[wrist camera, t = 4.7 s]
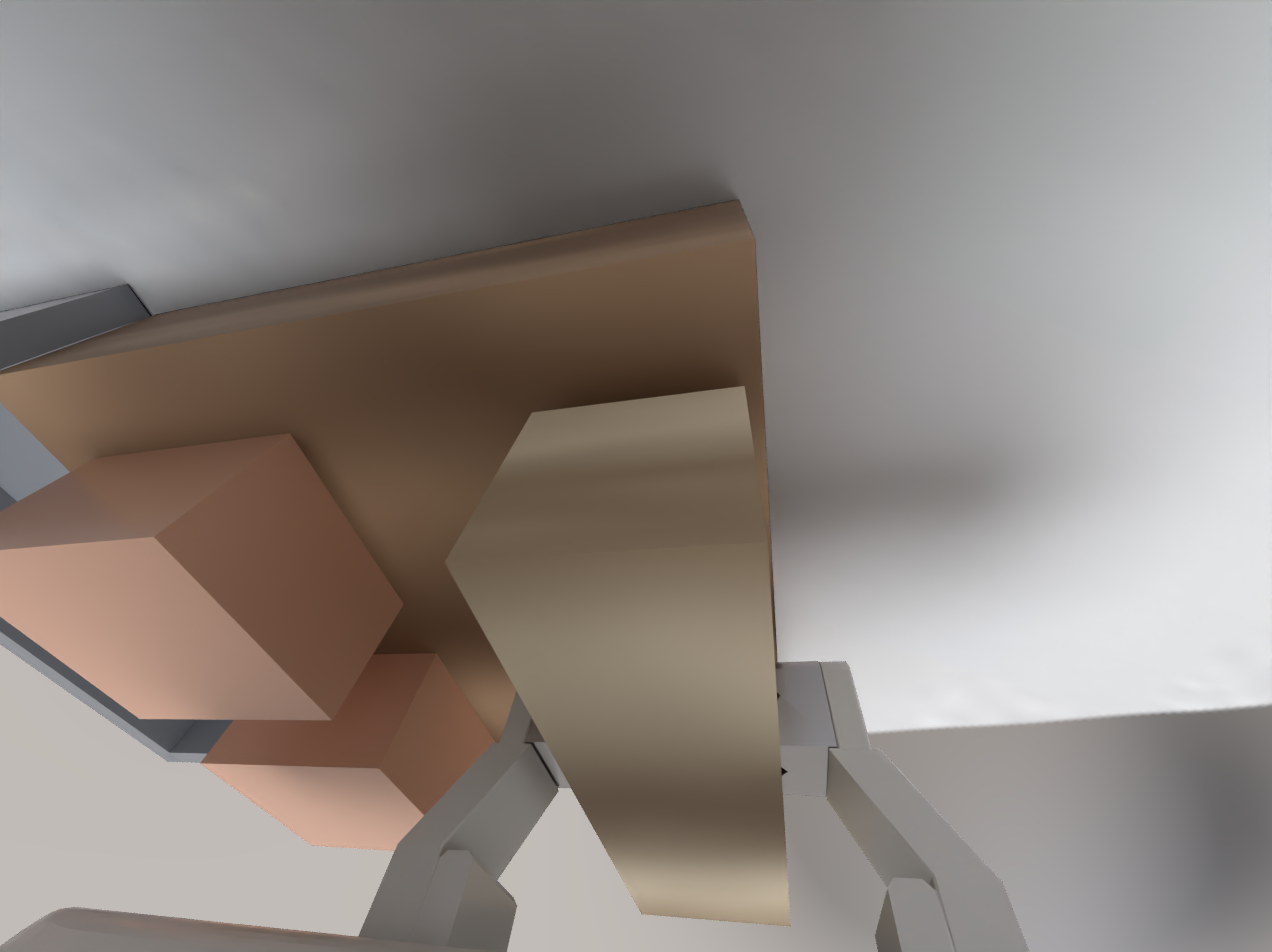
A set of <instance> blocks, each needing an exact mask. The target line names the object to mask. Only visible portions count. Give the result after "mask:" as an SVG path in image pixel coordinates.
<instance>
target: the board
mask: <svg viewBox="0 0 1272 952" xmlns="http://www.w3.org/2000/svg"><path fill="white" fill-rule="evenodd" d="M739 386H745V392H746V399H747V406H748V412H749V419H750V426H751V432H752V439H753V446H754V453H755V459H756V466H757V473H758V479H759V486H760V493H761V500H762V506H763V513H764V520H765V526H766V533H767V540H768V554H769V571H770V588H771V605H772V621H773V638H774V655H775V663H777V645H776V626H775V607H774V588H773V569H772V550H771V532H770V513H769V494H768V475H767V456H766V438H765V419H764V400H763V381H762V362H761V343H760V325H759V306H758V287H757V268H756V249H755V237H754V235H753V232H752V230H751V227H750V225H749V223H748V220H747V218H746V215H745V213H744V210H743V208H742V206H741V203H740V201H739V200H734V201H728V202H723V203H718V204H713V205H708V206H703V207H698V208H693V209H688V210H683V211H678V212H673V213H668V214H663V215H657V216H652V217H647V218H642V219H637V220H632V221H627V222H622V223H617V224H612V225H607V226H602V227H597V228H592V229H586V230H581V231H576V232H571V233H566V234H561V235H556V236H551V237H546V238H541V239H536V240H531V241H526V242H521V243H516V244H510V245H505V246H500V247H495V248H490V249H485V250H480V251H475V252H470V253H465V254H460V255H455V256H450V257H445V258H439V259H434V260H429V261H424V262H419V263H414V264H409V265H404V266H399V267H394V268H389V269H384V270H379V271H374V272H369V273H363V274H358V275H353V276H348V277H343V278H338V279H333V280H328V281H323V282H318V283H313V284H308V285H303V286H298V287H292V288H287V289H282V290H277V291H272V292H267V293H262V294H257V295H252V296H247V297H242V298H237V299H232V300H227V301H222V302H216V303H211V304H206V305H201V306H196V307H191V308H186V309H181V310H176V311H171V312H166V313H161V314H156V315H153V316H150V317H148V318H145V319H142V320H139V321H136V322H134V323H131V324H128V325H125V326H123V327H120V328H117V329H114V330H111V331H109V332H106V333H103V334H100V335H98V336H95V337H92V338H89V339H86V340H84V341H81V342H78V343H75V344H73V345H70V346H67V347H64V348H61V349H59V350H56V351H53V352H50V353H48V354H45V355H42V356H39V357H36V358H34V359H31V360H28V361H25V362H23V363H20V364H17V365H14V366H11V367H9V368H6V369H3V370H0V402H1V403H2V404H3V406H4V407H5V408H6V409H7V410H8V411H9V412H10V413H11V414H12V415H13V416H14V417H15V418H16V419H17V420H18V421H19V422H20V423H21V424H22V425H23V426H24V427H25V428H26V429H27V430H28V431H29V432H30V433H31V434H32V435H33V436H34V437H35V438H36V439H37V440H38V441H39V442H40V443H41V444H42V445H43V446H44V447H45V448H46V449H47V450H48V451H49V452H50V453H51V454H52V455H53V456H54V457H55V458H56V459H57V460H58V461H59V462H60V463H61V464H62V465H63V466H64V467H65V468H66V469H67V470H68V471H69V472H71V471H73V470H75V469H77V468H79V467H80V466H82V465H84V464H86V463H88V462H89V461H91V460H93V459H95V458H100V457H108V456H116V455H124V454H131V453H139V452H147V451H155V450H163V449H170V448H178V447H186V446H194V445H201V444H209V443H217V442H225V441H233V440H240V439H248V438H256V437H264V436H271V435H279V434H287V433H290V434H291V435H292V437H293V438H294V440H295V441H296V443H297V444H298V446H299V447H300V449H301V450H302V452H303V453H304V455H305V456H306V458H307V459H308V461H309V462H310V464H311V465H312V467H313V468H314V470H315V471H316V473H317V474H318V476H319V477H320V479H321V481H322V482H323V484H324V485H325V487H326V488H327V490H328V491H329V493H330V494H331V496H332V497H333V499H334V500H335V502H336V503H337V505H338V506H339V508H340V509H341V511H342V512H343V514H344V515H345V517H346V518H347V520H348V521H349V523H350V524H351V526H352V527H353V529H354V530H355V532H356V533H357V535H358V536H359V538H360V539H361V541H362V542H363V544H364V545H365V547H366V548H367V550H368V551H369V553H370V554H371V556H372V557H373V559H374V560H375V562H376V563H377V565H378V566H379V568H380V569H381V571H382V572H383V574H384V575H385V577H386V578H387V580H388V581H389V583H390V584H391V586H392V587H393V589H394V590H395V592H396V593H397V595H398V596H399V598H400V599H401V601H402V602H403V604H404V605H403V606H402V608H401V609H400V611H399V613H398V614H397V616H396V618H395V619H394V621H393V622H392V624H391V626H390V627H389V629H388V631H387V632H386V634H385V635H384V637H383V639H382V640H381V642H380V643H379V645H378V647H377V648H376V650H375V652H374V653H373V655H377V654H420V653H437V655H438V656H439V658H440V659H441V661H442V662H443V664H444V665H445V667H446V668H447V670H448V671H449V673H450V674H451V676H452V677H453V679H454V680H455V682H456V683H457V685H458V686H459V688H460V689H461V691H462V692H463V694H464V695H465V697H466V698H467V700H468V701H469V703H470V704H471V706H472V707H473V709H474V710H475V712H476V713H477V715H478V716H479V718H480V719H481V721H482V722H483V724H484V725H485V727H486V728H487V730H488V731H489V733H490V734H491V736H492V737H493V739H494V740H495V742H496V743H499V742H500V739H501V736H502V733H503V730H504V727H505V724H506V721H507V718H508V715H509V712H510V709H511V706H512V703H513V700H514V697H515V694H516V689H515V687H514V685H513V683H512V682H511V680H510V678H509V676H508V675H507V673H506V671H505V669H504V667H503V666H502V664H501V662H500V660H499V658H498V657H497V655H496V653H495V651H494V650H493V648H492V646H491V644H490V642H489V641H488V639H487V637H486V635H485V633H484V632H483V630H482V628H481V626H480V625H479V623H478V621H477V619H476V617H475V616H474V614H473V612H472V610H471V609H470V607H469V605H468V603H467V601H466V600H465V598H464V596H463V594H462V592H461V591H460V589H459V587H458V585H457V584H456V582H455V580H454V578H453V576H452V575H451V573H450V571H449V569H448V567H447V566H446V564H445V561H446V559H447V557H448V555H449V554H450V552H451V550H452V549H453V547H454V545H455V543H456V542H457V540H458V538H459V537H460V535H461V533H462V531H463V530H464V528H465V526H466V525H467V523H468V521H469V519H470V518H471V516H472V514H473V513H474V511H475V509H476V507H477V506H478V504H479V502H480V501H481V499H482V497H483V495H484V494H485V492H486V490H487V489H488V487H489V485H490V483H491V482H492V480H493V478H494V477H495V475H496V473H497V471H498V470H499V468H500V466H501V465H502V463H503V461H504V460H505V458H506V456H507V454H508V453H509V451H510V449H511V448H512V446H513V444H514V442H515V441H516V439H517V437H518V436H519V434H520V432H521V430H522V429H523V427H524V425H525V424H526V422H527V420H528V418H529V417H530V415H531V413H532V412H540V411H548V410H556V409H564V408H572V407H580V406H588V405H596V404H604V403H612V402H620V401H628V400H636V399H644V398H652V397H660V396H668V395H676V394H684V393H692V392H700V391H707V390H715V389H723V388H731V387H739Z"/></svg>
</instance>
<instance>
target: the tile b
mask: <svg viewBox="0 0 1272 952" xmlns="http://www.w3.org/2000/svg"><path fill="white" fill-rule="evenodd" d="M492 743H496V742H495V740H494V739H493V737H492V736H491V734H490V733H489V731H488V730H487V728H486V727H485V725H484V724H483V722H482V721H481V719H480V718H479V716H478V715H477V713H476V712H475V710H474V709H473V707H472V706H471V704H470V703H469V701H468V700H467V698H466V697H465V695H464V694H463V692H462V691H461V689H460V688H459V686H458V685H457V683H456V682H455V680H454V679H453V677H452V676H451V674H450V673H449V671H448V670H447V668H446V667H445V665H444V664H443V662H442V661H441V659H440V658H439V656H438V655H437V653H420V654H377V655H372V656H371V658H370V660H369V661H368V663H367V665H366V666H365V668H364V669H363V671H362V673H361V674H360V676H359V677H358V679H357V681H356V682H355V684H354V686H353V687H352V689H351V690H350V692H349V694H348V695H347V697H346V699H345V700H344V702H343V703H342V705H341V707H340V708H339V710H338V711H337V713H336V715H335V716H334V718H333V720H233V722H232V723H231V724H230V726H229V727H228V728H227V729H226V731H225V732H224V733H223V735H222V736H221V737H220V738H219V740H218V741H217V742H216V743H215V745H214V746H213V747H212V749H211V750H210V751H209V752H208V754H207V755H206V756H205V758H204V759H203V760H202V761H201V763H200V764H202V765H203V766H204V767H206V768H207V769H208V770H210V771H211V772H212V773H214V774H215V775H217V776H218V777H219V778H221V779H222V780H223V781H225V782H226V783H228V784H229V785H230V786H231V787H233V788H234V789H236V790H237V791H239V792H240V793H241V794H243V795H244V796H245V797H247V798H248V799H249V800H251V801H252V802H253V803H255V804H256V805H257V806H259V807H260V808H261V809H263V810H264V811H265V812H267V813H268V814H270V815H271V816H272V817H274V818H275V819H277V820H278V821H279V822H280V823H282V824H283V825H285V826H286V827H287V828H289V829H290V830H291V831H293V832H294V833H295V834H297V835H298V836H300V837H301V838H302V839H304V840H305V841H306V842H308V843H309V844H311V845H312V846H327V847H341V848H358V849H373V850H388V851H395V849H396V847H397V844H398V843H399V842H400V841H401V840H402V839H403V838H404V837H405V835H406V834H407V833H408V832H409V831H410V830H411V829H412V828H413V827H414V826H415V825H416V824H417V823H418V822H419V821H420V820H421V818H422V817H423V816H424V815H425V814H426V813H427V812H428V811H429V810H430V809H431V808H432V807H433V806H434V805H435V804H436V803H437V802H438V800H439V799H440V798H441V797H442V796H443V795H444V794H445V793H446V792H447V791H448V790H449V789H450V788H451V787H452V786H453V785H454V784H455V782H456V781H457V780H458V779H459V778H460V777H461V776H462V775H463V774H464V773H465V772H466V771H467V770H468V769H469V768H470V767H471V766H472V764H473V763H474V762H475V761H476V760H477V759H478V758H479V757H480V756H481V755H482V754H483V753H484V752H485V751H486V750H487V749H488V748H489V746H490V745H491V744H492Z"/></svg>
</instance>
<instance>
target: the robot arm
mask: <svg viewBox="0 0 1272 952" xmlns="http://www.w3.org/2000/svg"><path fill="white" fill-rule="evenodd" d="M775 672H776V689H777V706H778V723H779V740H780V756H781V773H782V790H783V794H785V795H801V796H817V797H827V800H828V802H829V803H830V805H831V806H832V808H833V809H834V811H835V812H836V813H837V815H838V816H839V818H840V819H841V821H842V822H843V824H844V825H845V827H846V828H847V830H848V831H849V832H850V833H851V835H852V837H853V838H854V840H855V841H856V842H857V844H858V846H859V847H860V848H861V850H862V851H863V853H864V854H865V856H866V857H867V858H868V860H869V862H870V863H871V865H872V866H873V867H874V869H875V870H876V872H877V873H878V875H879V876H880V878H881V879H882V881H883V882H884V883H885V885H886V886H887V891H886V895H885V899H884V903H883V907H882V910H881V914H880V918H879V922H878V926H877V930H876V934H875V939H876V944H877V949H878V952H1029V949H1028V946H1027V944H1026V941H1025V939H1024V936H1023V934H1022V931H1021V928H1020V926H1019V923H1018V921H1017V918H1016V916H1015V913H1014V911H1013V908H1012V905H1011V903H1010V900H1009V898H1008V895H1007V893H1006V890H1005V888H1004V885H1003V883H1002V881H1001V880H1000V879H999V878H998V877H997V876H996V875H995V873H994V872H993V871H992V870H991V869H990V868H989V867H988V866H987V865H986V864H985V863H984V861H983V860H982V859H981V858H980V857H979V856H978V855H977V854H976V853H975V852H974V851H973V849H972V848H971V847H970V846H969V845H968V844H967V843H966V842H965V841H964V840H963V839H962V837H961V836H960V835H959V834H958V833H957V832H956V831H955V830H954V829H953V828H952V827H951V826H950V824H949V823H948V822H947V821H946V820H945V819H944V818H943V817H942V816H941V815H940V813H939V812H938V811H937V810H936V809H935V808H934V807H933V806H932V805H931V804H930V803H929V802H928V800H927V799H926V798H925V797H924V796H923V795H922V794H921V793H920V792H919V791H918V790H917V788H916V787H915V786H914V785H913V784H912V783H911V782H910V781H909V780H908V779H907V778H906V776H905V775H904V774H903V773H902V772H901V771H900V770H899V769H898V768H897V767H896V766H895V764H894V763H893V762H892V761H891V760H890V759H889V758H888V757H887V756H886V755H885V754H884V753H883V752H882V751H881V749H873V748H871V745H870V741H869V737H868V733H867V730H866V726H865V722H864V718H863V715H862V711H861V707H860V703H859V700H858V696H857V692H856V688H855V685H854V681H853V677H852V674H851V670H850V667H849V665H848V664H847V662H846V661H829V662H818V661H806V662H777V663H775ZM558 788H571V787H570V785H569V783H568V782H567V780H566V778H565V776H564V774H563V773H562V771H561V769H560V767H559V766H558V764H557V762H556V760H555V758H554V757H553V755H552V753H551V751H550V749H549V748H548V746H547V744H546V742H545V741H544V739H543V737H542V735H541V733H540V732H539V730H538V728H537V726H536V724H535V723H534V721H533V719H532V717H531V716H530V714H529V712H528V710H527V708H526V707H525V705H524V703H523V701H522V699H521V698H520V696H519V694H518V692H517V691H516V694H515V697H514V700H513V703H512V706H511V709H510V712H509V715H508V718H507V721H506V724H505V727H504V730H503V733H502V736H501V739H500V742H499V743H492V744H491V745H490V746H489V748H488V749H487V750H486V751H485V752H484V753H483V754H482V755H481V756H480V757H479V758H478V759H477V760H476V761H475V762H474V763H473V764H472V766H471V767H470V768H469V769H468V770H467V771H466V772H465V773H464V774H463V775H462V776H461V777H460V778H459V779H458V780H457V781H456V782H455V784H454V785H453V786H452V787H451V788H450V789H449V790H448V791H447V792H446V793H445V794H444V795H443V796H442V797H441V798H440V799H439V800H438V802H437V803H436V804H435V805H434V806H433V807H432V808H431V809H430V810H429V811H428V812H427V813H426V814H425V815H424V816H423V817H422V818H421V820H420V821H419V822H418V823H417V824H416V825H415V826H414V827H413V828H412V829H411V830H410V831H409V832H408V833H407V834H406V835H405V837H404V838H403V839H402V840H401V841H400V842H399V843H398V844H397V847H396V849H395V851H394V854H393V856H392V859H391V861H390V863H389V866H388V868H387V870H386V873H385V875H384V877H383V880H382V882H381V884H380V887H379V889H378V891H377V894H376V896H375V898H374V901H373V903H372V906H371V908H370V910H369V913H368V915H367V917H366V920H365V922H364V924H363V927H362V929H361V931H360V934H359V936H358V937H356V936H346V935H337V934H327V933H317V932H308V931H299V930H289V929H279V928H270V927H260V926H251V925H242V924H232V923H223V922H222V923H221V922H213V921H203V920H194V919H185V918H175V917H165V916H156V915H147V914H137V913H127V912H118V911H109V910H99V909H90V908H79V907H72V908H64V909H59V910H57V911H54V912H52V913H50V914H48V915H46V916H44V917H42V918H41V919H39V920H38V921H36V922H35V923H33V924H31V925H30V926H29V927H27V928H25V929H24V930H22V931H21V932H19V933H18V934H17V935H15V936H14V937H12V938H11V939H9V940H8V941H7V942H5V943H4V944H3V945H1V946H0V952H507V948H508V943H509V939H510V935H511V930H512V926H513V921H514V916H515V912H516V908H517V905H516V903H515V900H514V898H513V897H512V895H511V894H510V893H509V892H508V891H507V890H506V889H505V888H504V887H503V886H502V885H501V884H500V883H499V882H498V881H497V880H498V878H499V877H500V875H501V874H502V872H503V871H504V870H505V868H506V867H507V865H508V864H509V862H510V861H511V859H512V858H513V856H514V855H515V853H516V852H517V850H518V849H519V848H520V846H521V845H522V843H523V842H524V840H525V839H526V838H527V836H528V834H529V833H530V832H531V830H532V829H533V827H534V826H535V824H536V823H537V821H538V820H539V819H540V817H541V816H542V814H543V812H544V811H545V809H546V808H547V807H548V805H549V804H550V803H551V801H552V800H553V798H554V797H555V795H556V794H557V792H558Z"/></svg>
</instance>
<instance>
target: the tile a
mask: <svg viewBox="0 0 1272 952" xmlns="http://www.w3.org/2000/svg"><path fill="white" fill-rule="evenodd" d="M403 605H404V604H403V602H402V601H401V599H400V598H399V596H398V595H397V593H396V592H395V590H394V589H393V587H392V586H391V584H390V583H389V581H388V580H387V578H386V577H385V575H384V574H383V572H382V571H381V569H380V568H379V566H378V565H377V563H376V562H375V560H374V559H373V557H372V556H371V554H370V553H369V551H368V550H367V548H366V547H365V545H364V544H363V542H362V541H361V539H360V538H359V536H358V535H357V533H356V532H355V530H354V529H353V527H352V526H351V524H350V523H349V521H348V520H347V518H346V517H345V515H344V514H343V512H342V511H341V509H340V508H339V506H338V505H337V503H336V502H335V500H334V499H333V497H332V496H331V494H330V493H329V491H328V490H327V488H326V487H325V485H324V484H323V482H322V481H321V479H320V477H319V476H318V474H317V473H316V471H315V470H314V468H313V467H312V465H311V464H310V462H309V461H308V459H307V458H306V456H305V455H304V453H303V452H302V450H301V449H300V447H299V446H298V444H297V443H296V441H295V440H294V438H293V437H292V435H291V434H290V433H287V434H279V435H271V436H264V437H256V438H248V439H240V440H233V441H225V442H217V443H209V444H201V445H194V446H186V447H178V448H170V449H163V450H155V451H147V452H139V453H131V454H124V455H116V456H108V457H100V458H95V459H93V460H91V461H89V462H88V463H86V464H84V465H82V466H80V467H79V468H77V469H75V470H73V471H71V472H70V473H68V474H66V475H64V476H63V477H61V478H59V479H57V480H55V481H54V482H52V483H50V484H48V485H46V486H45V487H43V488H41V489H39V490H38V491H36V492H34V493H32V494H30V495H29V496H27V497H25V498H23V499H21V500H20V501H18V502H16V503H14V504H13V505H11V506H9V507H7V508H5V509H4V510H2V511H0V617H1V618H3V619H4V620H6V621H7V622H8V623H10V624H11V625H12V626H14V627H15V628H16V629H18V630H19V631H21V632H22V633H23V634H25V635H26V636H27V637H29V638H30V639H31V640H33V641H34V642H35V643H37V644H38V645H40V646H41V647H42V648H44V649H45V650H46V651H48V652H49V653H50V654H52V655H53V656H55V657H56V658H57V659H59V660H60V661H61V662H63V663H64V664H65V665H67V666H68V667H70V668H71V669H72V670H74V671H75V672H76V673H78V674H79V675H80V676H82V677H83V678H84V679H86V680H87V681H89V682H90V683H91V684H93V685H94V686H95V687H97V688H98V689H99V690H101V691H102V692H104V693H105V694H106V695H108V696H109V697H110V698H112V699H113V700H114V701H116V702H117V703H119V704H120V705H121V706H123V707H124V708H125V709H127V710H128V711H129V712H131V713H132V714H133V715H135V716H136V717H138V718H139V719H204V720H333V718H334V716H335V715H336V713H337V711H338V710H339V708H340V707H341V705H342V703H343V702H344V700H345V699H346V697H347V695H348V694H349V692H350V690H351V689H352V687H353V686H354V684H355V682H356V681H357V679H358V677H359V676H360V674H361V673H362V671H363V669H364V668H365V666H366V665H367V663H368V661H369V660H370V658H371V656H372V655H373V653H374V652H375V650H376V648H377V647H378V645H379V643H380V642H381V640H382V639H383V637H384V635H385V634H386V632H387V631H388V629H389V627H390V626H391V624H392V622H393V621H394V619H395V618H396V616H397V614H398V613H399V611H400V609H401V608H402V606H403Z"/></svg>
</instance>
